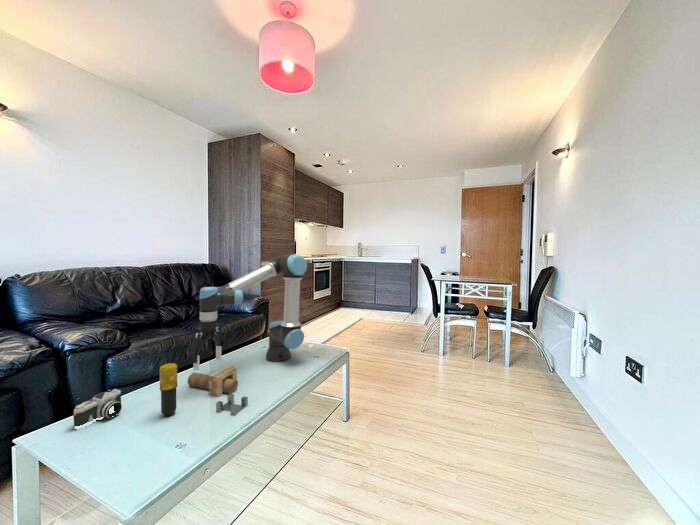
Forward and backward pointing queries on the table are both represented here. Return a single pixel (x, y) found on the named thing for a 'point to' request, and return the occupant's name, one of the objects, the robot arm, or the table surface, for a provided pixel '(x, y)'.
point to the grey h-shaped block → (231, 405)
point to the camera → (98, 407)
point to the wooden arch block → (217, 377)
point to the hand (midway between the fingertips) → (207, 364)
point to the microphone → (168, 388)
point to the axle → (203, 382)
